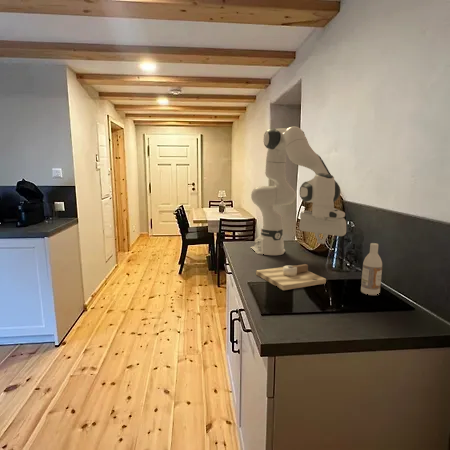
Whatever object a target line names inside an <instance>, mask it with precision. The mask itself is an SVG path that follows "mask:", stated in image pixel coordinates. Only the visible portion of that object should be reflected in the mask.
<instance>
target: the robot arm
mask: <svg viewBox="0 0 450 450" xmlns="http://www.w3.org/2000/svg"><path fill="white" fill-rule="evenodd" d="M263 144H264V146H265V148H266V149H267V151H266V156H265V157H266V159H265V170H264V171H265V172H264V173H265V176H266V177H267V179H269V180H270V181H273V183H274V185H269V186H268V185H262V186H261V185H260V186H257V187H254V188H253V189H252V191H251V194H250V196H251V197H250V198H251V201H252V202H253V204H255V206H256V207H258V209H259V210H260V212H261V214H262V216H261V217H262V228H260V235H259V236H257V237H256V238H255V240H254V246H253V245H252V246H250V248H252V249H253V250H254V251H255V252H254V251H253V250H252V249H251V250H252V251H253V252H254V253H256V254H257V255H263V254H264V255H265V256H281V255H284V253H285V252H286V249H285V243H284V242H285V240H284V237H283V235H284V234H283V233H284V231H283V216H282V214H281V213H280V212H278V211H276V210H275V209H274V206H287V205H288V206H289V205H292V204H293V203H294V202H295V201H296V198H297V197H296V196H297V193H296V190H295V189H294V188H293V187H292V186H291V185H290V184H289V182H288V180H287V175H286V172H287V171H286V167H287V158H288V159H289V161H290V162H291V163H292V164H295V165H297V166H301V167H304V168H306V169H309V170H311V171H312V172H313V173H315V175H314V177H313V178H312V179H310V180H307V181H304V182H303V183H302V184H301V185H300V188H299V196H300V198H301V200H302V201H304V202H305V203H312V207H311V210H306V209H304V210H302V211H301V212H300V216H299V217H300V219H299V226H298V229H299V231H300V232H307V233H313V234H314V236H315V238H316V244H320V245H325V244H326V240H327V238H328V237H329V236H335V237H336V236H337V237H344V236H345V235H346V233H347V220H346V219H345V217H346V212H344V211H343V210H340V209H337V208H335V202H336V201H337V200H338V199H339V198H340V196H341V192H342V191H341V187H340V185H339V183H338V182H337V181H336V180H335V177H334V176H333V175H332V174H331V172H330V170H329V169H328V167H327V164H325V162H324V160H323V159H322V158H321V156H320V155H319V154H317V153H316V152H315V151H314V150H313V148H312V147H311V145H310V143H309V141H308V138H307V137H306V134H305V132H304V131H303V129H301V128H300V127H299V126H295V125H294V126H290V127H285V128H282V127H281V128H280V127H279V128H275V127H274V128H269V129H267V130H265V132H264V134H263ZM321 234H322V236H323V237H322V238H320V237H321V236H320V235H321Z"/></svg>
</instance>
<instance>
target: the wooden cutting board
mask: <svg viewBox="0 0 450 450" xmlns="http://www.w3.org/2000/svg"><path fill="white" fill-rule="evenodd" d="M293 266H297V265H293ZM283 267H284V266H280V267H279V266H278V267H273V268H266V269H265V268H264V269H258V270H255V275H256V276H258V277H259V278H262V279H263V280H265V281H266V282H268V283H269V284H271V285H273V286H275V287H276V286H277V288H279V290H282V291H288V290H293V289H299V288H306V287H311V286H317V285H324V284H325V285H326V282H327V278H325V277H323V276H320V275H318V274H316V273H313V272H311V271H309V270H308V271H306V272H301V273H297V275H295V276H287V275H284V274H283Z"/></svg>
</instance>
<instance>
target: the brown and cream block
mask: <svg viewBox="0 0 450 450" xmlns="http://www.w3.org/2000/svg"><path fill="white" fill-rule="evenodd" d="M282 267H283V274H284V275H287V276H295V275H297V273H301V272H306V271H309V265H308V264H306V263H304V264H298V265H296V266H294V265H290V264H289V265H284V266H282Z"/></svg>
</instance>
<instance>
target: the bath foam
mask: <svg viewBox="0 0 450 450" xmlns="http://www.w3.org/2000/svg"><path fill="white" fill-rule="evenodd" d="M369 246H370V247H369V253H367V255H366V256H365V257H364V259H363V263H362V271H361V272H362V273H361V283H360V284H361V286H360V292H361V293H362V294H365V295H367V294H368V296H378V295H380V294H381V287H382V286H381V285H382V284H381V283H382V275H383V274H382V272H383V261H382V258H381V256H380V255H379V243H375V242H371V243H370V244H369ZM379 293H380V294H379ZM377 294H378V295H377Z"/></svg>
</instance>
